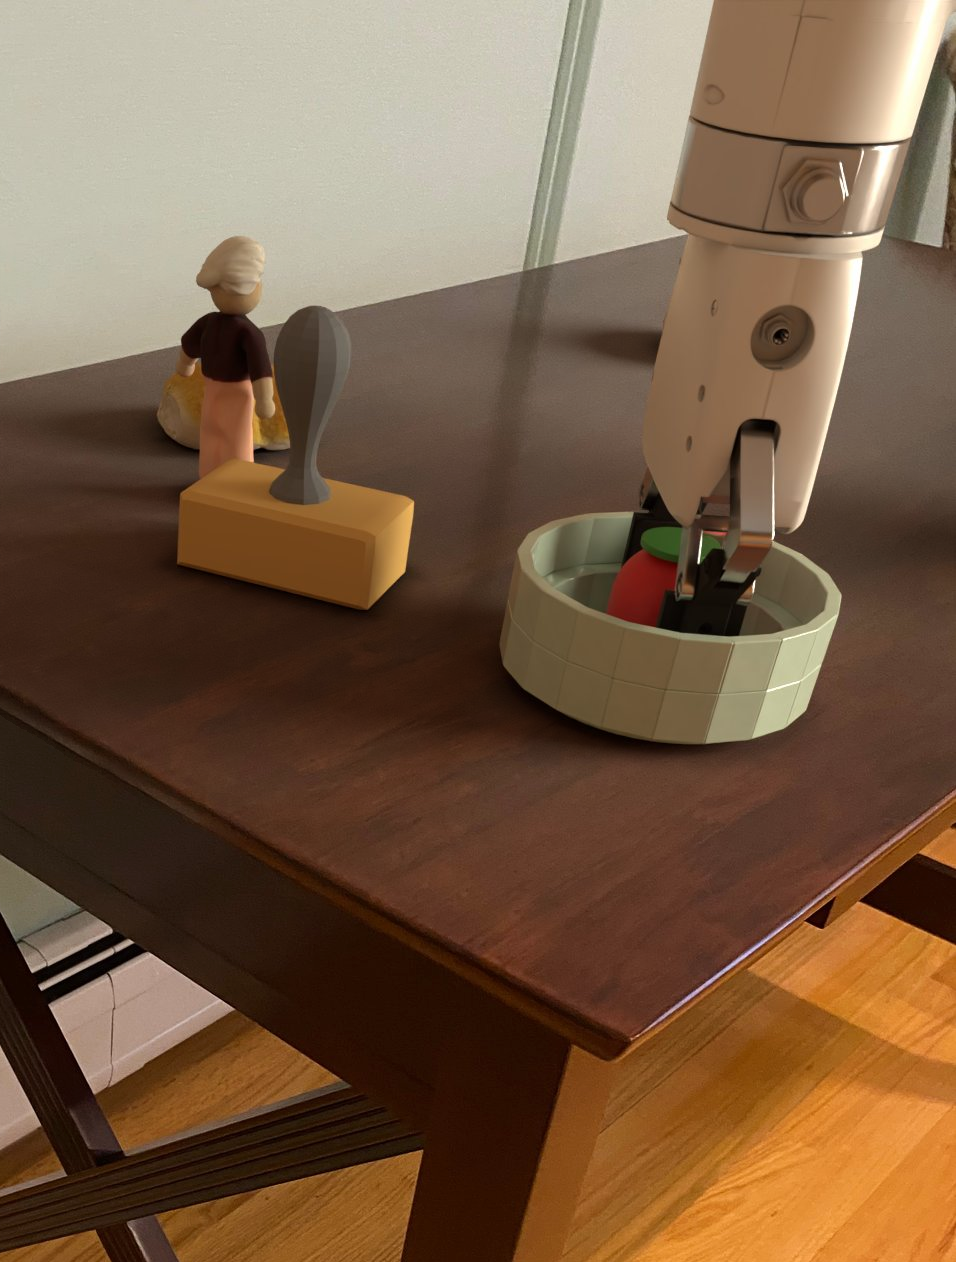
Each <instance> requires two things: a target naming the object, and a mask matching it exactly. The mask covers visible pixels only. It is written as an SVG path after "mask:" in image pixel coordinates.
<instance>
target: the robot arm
mask: <svg viewBox="0 0 956 1262" xmlns="http://www.w3.org/2000/svg"><path fill="white" fill-rule="evenodd" d="M954 13H956V0H713V2H712V6H711V12H710V16H709V21H708V26H707V31H706V35H705V40H704V45H703V49H702V54H701V59H700V63H699V69H698V73H697V77H696V82H695V85H694V87H695V88H694V92H693V95H692V96H693V97H692V101H691V106H690V110H689V115H688V119H687V122H686V123H687V124H686V128H685V133H684V137H683V142H682V146H681V152H680V156H679V160H678V166H677V169H676V173H675V174H676V175H675V179H674V184H673V189H672V193H671V198H670V202H669V206H668V211H667V215H666V220H667V221H668V223H669V224H670V225H671V226H673V227H674V228H676V229H677V230H680V231H681V230H682V231H684V232H686V234H688V235H687V238H686V243H685V246H684V249H683V253H682V255H681V257H680V259H679V262H678V263H679V266H678V271H677V275H676V279H675V283H674V286H673V289H672V293H671V297H670V301H669V305H668V308H667V312H666V313H667V316H666V320H665V325H664V329H663V328H662V332H661V336H660V341H659V344H658V345H659V346H658V350H657V354H656V359H655V362H654V367H653V370H652V374H651V375H652V376H651V380H650V384H649V390H648V395H647V401H646V405H645V412H644V417H643V424H642V432H641V447H642V454H643V458H644V460H645V463H646V465H647V468H646V470H645V473H644V476H643V478H642V480H641V483H640V486H639V489H638V494H637V502H636V503H637V510H638V511H633V512H634V513H633V517H632V522H631V526H630V531H629V535H628V539H627V544H626V548H625V552H624V557H623V561H622V566H621V568H622V567H623V566H624V564H625V563H626V562H627V561H628V560H629V559H630V558H631V557H632V556H633V555H635V554H636V553H638V552H639V551H641V550H643V548H642V546H641V543H640V542H641V538H642V535H643V533H644V532H645V531H647V530H649V529H652V528H658V527H678V528H682V532H681V540H680V549H679V557H678V565H677V573H676V582H675V590H665V592H664V596H663V600H662V603H661V607H660V611H659V615H658V619H657V623H656V627H655V628H660V629H665V630H669V631H674V632H679V633H689V634H701V635H714V636H726V637H732V636H739V634H740V630H741V627H742V624H743V620H744V617H745V613H746V610H747V606H748V605H749V604H750V602H751V599H752V596H753V592H754V585H755V579H756V577H758V576H759V575H760V573H761V570H762V567H759V566H760V564H761V563H762V561H763V560H764V558H765V557H766V555H767V554H768V552H769V551H770V549H771V546H772V543H773V541H774V538H775V531H776V532H777V533H779V534H781V535H789V534H791V533H793V532H794V531H796V530H797V529H798V528H799V527H800V526H801V525H802V523H803V522H804V519H805V517H806V513H807V511H808V506H809V502H810V500H811V496H812V491H813V489H814V484H815V481H816V477H817V473H818V469H819V465H820V461H821V457H822V453H823V450H824V445H825V442H826V438H827V434H828V430H829V426H830V422H831V418H832V414H833V410H834V406H835V403H836V399H837V394H838V390H839V386H840V383H841V378H842V373H843V370H844V365H845V360H846V355H847V352H848V347H849V342H850V337H851V332H852V327H853V322H854V317H855V312H856V306H857V300H858V296H859V295H858V294H859V287H860V281H861V274H862V267H863V259H864V256H863V253H862V252H866V251H870V250H871V249H874V248H876V247H878V246H879V245H880V243H881V241H882V238H883V234H884V230H885V227H886V223H887V220H888V217H889V214H890V210H891V206H892V203H893V200H894V197H895V193H896V190H897V187H898V183H899V180H900V177H901V174H902V170H903V167H904V164H905V161H906V157H907V154H908V150H909V148H910V144H911V139H912V137H913V134H914V130H915V128H916V127H915V126H916V124H917V120H918V117H919V113H920V110H921V107H922V104H923V101H924V97H925V93H926V90H927V87H928V86H927V85H928V83H929V81H930V77H931V73H932V70H933V67H934V64H935V61H936V57H937V55H938V54H937V53H938V50H939V47H940V44H941V41H942V37H943V33H944V30H945V27H946V24H947V20H948V18H949V17H950V16H951V15H952V14H954ZM708 504H718V505H719V504H720V505H729V515H717V514H716V515H715V514H703V513H704V511H705V510H706V507H707V505H708ZM641 511H648V512H643V513H641ZM702 535H706V536H720V537H725V538H724V539H723V547H722V549H717V548H713V549H711V551H710V552H709V553H708V554H707V556H706V557H705V558H704V559H703V561H702V562H701V563H700V564H699V559H700V551H701V543H702Z"/></svg>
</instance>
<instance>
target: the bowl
mask: <svg viewBox="0 0 956 1262" xmlns="http://www.w3.org/2000/svg"><path fill="white" fill-rule="evenodd" d="M634 512H635V511H615V512H614V511H613V512H611V511H610V512H592V513H591V512H590V513H589V512H588V513H583V514H579V515H578V514H577V515H573V516H569V517H564V518H558V519H555V520H551V521H549V522H547V523H544V524H543V525H541V526H539V527H537V528H535V529H534V530H531V531H529V532H528V533H527V535H526V536H525V538H524V539H523V540H522V542H521V544H520V545H519V547H518V548H517V549H516V554H515V559H514V564H513V570H512V573H511V574H512V575H511V581H510V585H509V589H508V596H507V601H506V607H505V613H504V617H503V623H502V628H501V633H500V638H499V639H500V640H499V643H498V646H499V650H500V655H501V662H502V665H503V667H504V669H505V670H506V671H507V672H508V674H510V676H511V677H512V678H513V679H514V680H515V682H516V683H517V684H518V685H519V686H520V688H522V689H523V690H524V691H526V692H527V693H528V694H530V695H531V696H534V697H535V698H537V699H538V700H540V701H541V702H543V703H545V704H546V705H548V706H549V707H551V708H552V709H554V710H556V711H558V712H559V713H561V714H563V715H565V716H567V717H568V718H571V719H573V720H576V721H577V722H580V723H582V724H584V725H588V726H590V727H593V728H595V729H598V730H601V731H605V732H608V733H612V734H614V735H618V736H622V737H627V738H631V739H637V740H642V741H647V742H654V743H663V744H664V743H665V744H672V745H673V744H674V745H710V744H712V745H713V744H721V743H730V742H740V741H741V742H742V741H750V740H753V739H756V738H760V737H763V736H766V735H769V734H772V733H775V732H779V731H782V730H785V729H786V728H787V727H788V726H790V725H791V724H792V723H793V722H794V721H796V719H798V718H799V717H800V716H801V715H803V714H804V713H805V712H806V711H807V710H808V709H807V708H808V706H809V704H810V700H811V697H812V694H813V691H814V688H815V685H816V683H817V679H818V677H819V674H820V670H821V667H822V664H823V662H824V659H825V657H826V653H827V650H828V647H829V645H830V642H831V638H832V635H833V632H834V629H835V627H836V624H837V621H838V618H839V614H840V609H841V604H842V598H843V596H842V593H841V591H840V589H839V588H838V587H837V585H836V583H835V581H834V580H833V579H832V577H831V576H830V574H829V573H828V572H827V571H826V570H824V569H823V568H822V567H820V566H819V565H817V564H816V563H815V562H813V561H812V560H811V559H809V558H808V557H806V556H805V555H804V554H802V553H800V552H799V551H795V549H792V548H790V547H788V546H785V545H783V544H781V543H779V542H776V541H775V540H773V543H772V546H771V549H770V551H769V552H768V554H767V555H766V557H765V558H764V560H763V561H762V563H761V564H760V566H759V567H762V570H761V573H760V575H759V576H758V577H756V579H755V585H754V592H753V596H752V599H751V602H750V604H749V605H748V606H747V610H746V613H745V617H744V620H743V624H742V627H741V630H740V634H739V636H732V637H726V636H714V635H701V634H689V633H679V632H674V631H669V630H665V629H660V628H655V627H650V626H645V625H641V624H636V623H631V622H627V621H625V620H622V619H619V618H616V617H613V616H610V615H608V614H606V611H607V607H608V603H609V598H610V594H611V590H612V586H613V583H614V581H615V579H616V576H617V574H618V573H619V571H620V570H621V566H622V561H623V557H624V552H625V548H626V544H627V539H628V535H629V531H630V526H631V522H632V517H633V513H634ZM640 512H641V511H640ZM641 513H644V512H643V511H642V512H641ZM710 537H712V538H713V539H715V540H716V541H717V542H718V543H719V544H720V547H721V549H722V547H723V539H724V538H725V537H720V536H710Z"/></svg>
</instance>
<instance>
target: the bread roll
mask: <svg viewBox="0 0 956 1262" xmlns="http://www.w3.org/2000/svg"><path fill="white" fill-rule="evenodd" d="M271 367H272V372H273V379H272V382H273V393H274V394H273V397H272V400H273V402H274V404H275V413H274V415H273V416H272V417H271V418H269V419H260V418H259V417H257V415H256V413H255V403H256V401H255V398H254V408H253V418H252V431H253V451H255V450H257V449H264V450H266V451H284V450H287V449H290V440H289V433H288V428H287V424H286V420H285V417H284V413H283V409H282V406H281V402H280V399H279V395H278V391H277V387H276V382H275V376H274V364H271ZM205 385H206V384H205V381H204V378H203V375H202V371H201V363H195V369H194V372H193V374H192V375H191V376H189V377H182V376H180V375H179V374H178V373H177V371H176V372H175V373H173V374H172V375H171V376H170V377H169V378H168V379H167V380H166V382H165V383H164V386H163V389H162V395H161V396H162V397H161V400H160V402H159V404H158V410H157V413H156V418H157V421H158V423H159V424H160V427H162V429H163V431H164V432H165V433H166V435H168V436H169V437H170V438H171V439H172V440H174V442H177V443H178V444H180V445H182V446H184V447H186V448H189V449H193V450H200V424H201V411H202V404H203V399H204V392H205Z"/></svg>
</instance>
